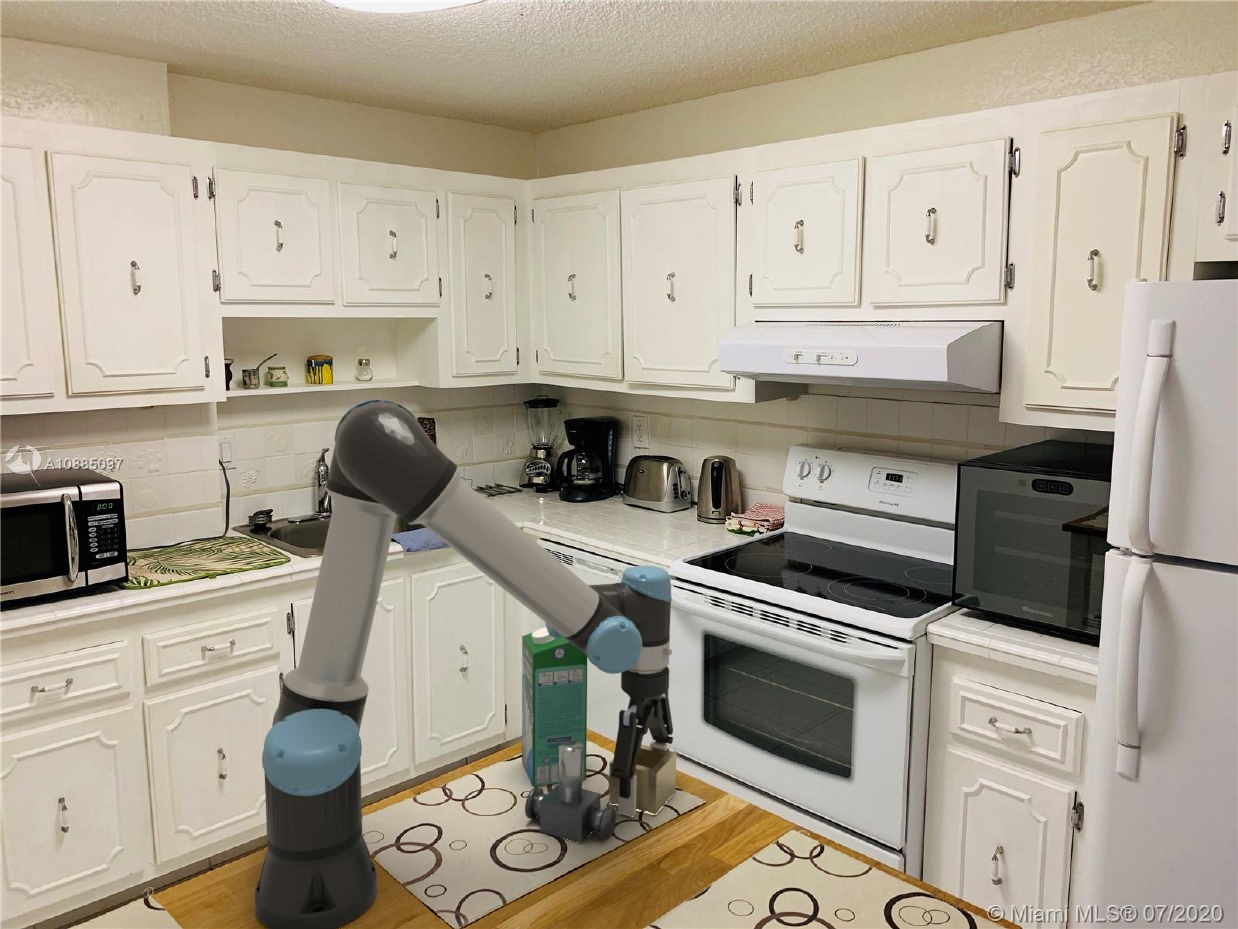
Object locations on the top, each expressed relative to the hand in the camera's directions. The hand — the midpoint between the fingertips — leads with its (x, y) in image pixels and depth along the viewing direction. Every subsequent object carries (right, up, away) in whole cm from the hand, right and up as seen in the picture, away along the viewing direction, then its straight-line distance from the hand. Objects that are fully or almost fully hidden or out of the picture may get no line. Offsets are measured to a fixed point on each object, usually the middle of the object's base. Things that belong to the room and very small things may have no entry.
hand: (642, 797), depth 146 cm
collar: (0, 0, 0) cm, 0 cm away
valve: (-11, -1, -9) cm, 14 cm away
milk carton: (-15, +1, +9) cm, 17 cm away
